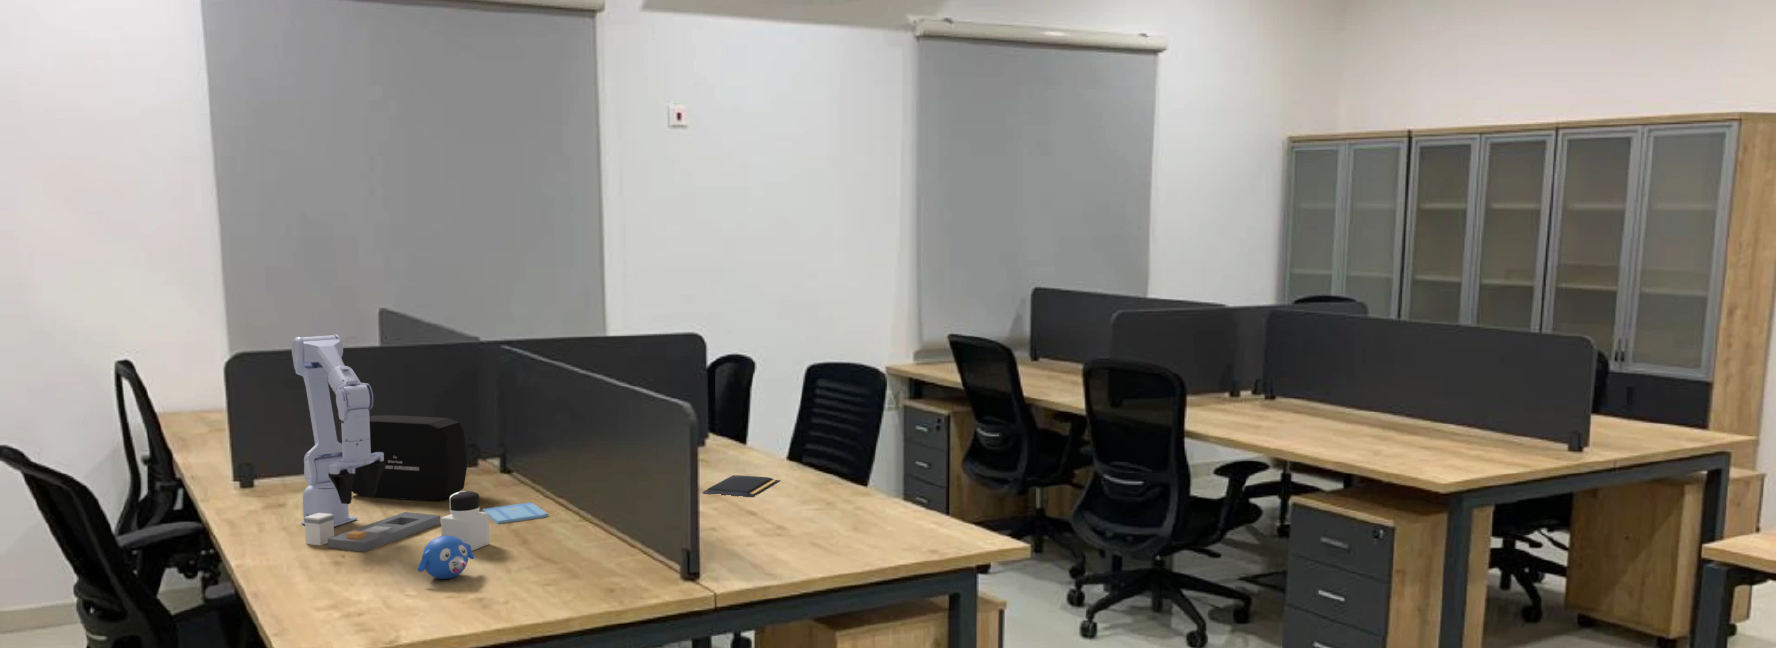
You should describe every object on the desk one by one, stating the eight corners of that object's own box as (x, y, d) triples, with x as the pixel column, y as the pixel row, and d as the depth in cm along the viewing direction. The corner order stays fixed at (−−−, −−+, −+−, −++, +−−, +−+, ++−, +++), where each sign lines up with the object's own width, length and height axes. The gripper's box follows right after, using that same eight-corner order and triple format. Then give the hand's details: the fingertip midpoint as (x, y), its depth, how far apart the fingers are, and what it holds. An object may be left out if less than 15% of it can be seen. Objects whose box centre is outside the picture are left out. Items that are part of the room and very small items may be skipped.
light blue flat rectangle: (548, 519, 279) (548, 513, 279) (497, 526, 273) (497, 520, 273) (532, 507, 291) (531, 502, 290) (482, 513, 284) (482, 508, 284)
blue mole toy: (437, 593, 223) (436, 550, 222) (407, 580, 231) (405, 539, 230) (494, 578, 232) (493, 537, 231) (463, 566, 240) (461, 526, 239)
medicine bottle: (490, 544, 256) (488, 490, 255) (468, 553, 249) (466, 498, 248) (463, 541, 258) (461, 488, 257) (441, 549, 252) (439, 495, 251)
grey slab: (365, 551, 250) (364, 538, 250) (327, 547, 253) (327, 534, 253) (440, 523, 273) (440, 511, 272) (405, 520, 276) (405, 507, 276)
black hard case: (344, 496, 300) (341, 419, 298) (376, 485, 311) (373, 411, 310) (448, 503, 292) (445, 424, 290) (476, 492, 304) (474, 416, 302)
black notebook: (732, 472, 322) (782, 476, 317) (732, 479, 322) (783, 483, 317) (698, 488, 303) (752, 493, 298) (698, 496, 303) (752, 500, 298)
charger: (305, 544, 256) (304, 517, 256) (319, 539, 260) (318, 512, 260) (320, 545, 255) (319, 518, 254) (334, 540, 259) (333, 514, 258)
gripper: (346, 446, 250) (349, 508, 251) (394, 434, 264) (396, 493, 265) (320, 444, 252) (322, 506, 253) (368, 432, 266) (370, 490, 267)
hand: (358, 499), depth 259 cm, fingers open, 7 cm apart
